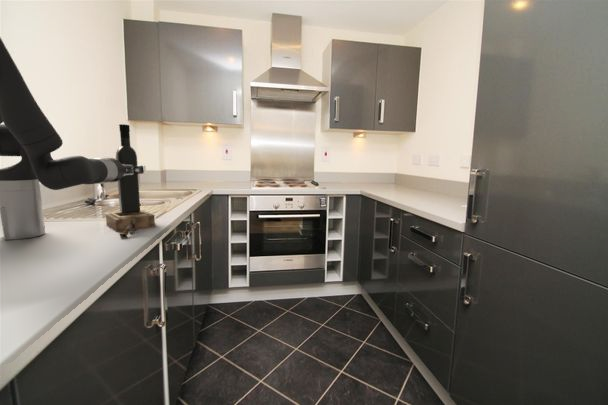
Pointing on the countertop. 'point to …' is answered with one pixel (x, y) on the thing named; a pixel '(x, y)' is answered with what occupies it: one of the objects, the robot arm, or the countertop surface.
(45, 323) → the countertop surface
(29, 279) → the countertop surface
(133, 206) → the wine bottle
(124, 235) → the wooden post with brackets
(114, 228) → the square wooden picture frame
